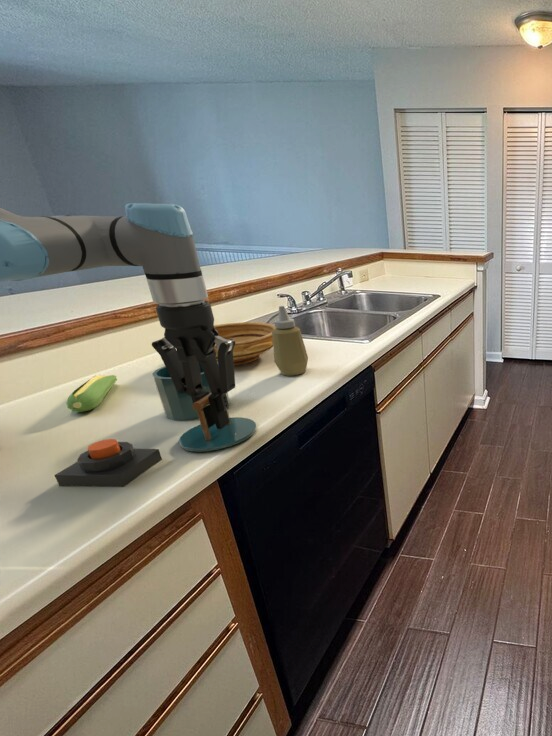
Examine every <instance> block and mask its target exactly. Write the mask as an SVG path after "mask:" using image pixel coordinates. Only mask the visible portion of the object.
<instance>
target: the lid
mask: <svg viewBox="0 0 552 736" xmlns="http://www.w3.org/2000/svg"><path fill="white" fill-rule="evenodd" d="M211 394H212V393H209V394H208V395H206V396H204V397H203V398H201V399H200V400H198V401H196V402H195V403H193V405H192V407H193V409H194V410H196V411H197V412H198V416H199V419H198V420H199V423H200V424H198V425H196V426H193V427H191V428H189V429H188V430H186V431H185V432H183V434H181V435H180V436H179V439H178V444H179V446H180V448H182V450H185V451H189V452H200V453H201V452H211V451H217V450H218V451H219V450H221V449H226V448H228V447H232V446H235V445H238V444H239V443H242V442H244V441H246V440H247V439H249V438H250V437H251V436H253V435H254V434H255V432H256V431H257V427H258V426H257V423H256V421H255V420H253V419H251V418H248V417H241V416H239V417H238V416H236V417H233V416H232V417H230V414H229V410H228V409H226V410H227V414H228V418H229V421H230V422H229V423H228V424H227V425H225V426H224V427H223V428H222V429H217V427H216V424H214V425H213V426H211V427H210V428H208V425H207V421H206V418H205V414H204V411H203V408H205V407H206V406H208V405H210V402H209V399H208V397H209V395H211Z"/></svg>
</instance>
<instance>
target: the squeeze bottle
mask: <svg viewBox="0 0 552 736" xmlns="http://www.w3.org/2000/svg"><path fill="white" fill-rule="evenodd" d="M273 325H275V327H276V328H275V329H274V330H273V331H272V337H273V347H272V348H273V360H274V364H275V366H276V367H277V369H278V370H279V372H280V373H281V375H282V376H287V377H291V376H298V375H299V376H300V375H301V374H304V373H305V372H307V367H308V366H307V365H308V360H309V355H308V352H307V349H306V346H305V342H304V339H303V335H302V331H301V328H299V327H298V326H296V321H295V319H294V318H290V316H289V314H288V312H287V310H286V307H285V306H284V305H279V306H278V318H277V319H276V320H274V321H273Z"/></svg>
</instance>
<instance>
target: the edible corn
mask: <svg viewBox="0 0 552 736" xmlns="http://www.w3.org/2000/svg"><path fill="white" fill-rule="evenodd" d="M117 381H118V377H117V375H114V374H111V375H103V374H102V375H97V374H96V375H94V376H93V377H91V378H90V379H88V380H87V381H85V382H84V383H82V384H81V385H79V386H78V387H77V388H75V390H74V391H72V392H71V393H70V394H69V395H68V397H67V401H66V406H67V409H69V410H71V412H79V413H83V412H87V411H91V410H93V409H95V408H98V407H99V406H100V405H101V404H102V402H103V401H104V399H105V398H106V396H107V395H108V393H109V392H110V391H111V389H112V387H113V386H114V384H115V383H116V382H117Z"/></svg>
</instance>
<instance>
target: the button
mask: <svg viewBox="0 0 552 736" xmlns="http://www.w3.org/2000/svg"><path fill="white" fill-rule="evenodd" d="M118 442H119V441H118V439H115V438H108V439H102V440H98V441H95V442H93V443H91V444H89V445H88V447H87V450H88V452H89V454H90V456H91V458H92V459H100V458H105V457H108V456H111V455H114V454H116V453H118V452H119V451H120V450H121V449H120V446H119V444H118Z"/></svg>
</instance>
